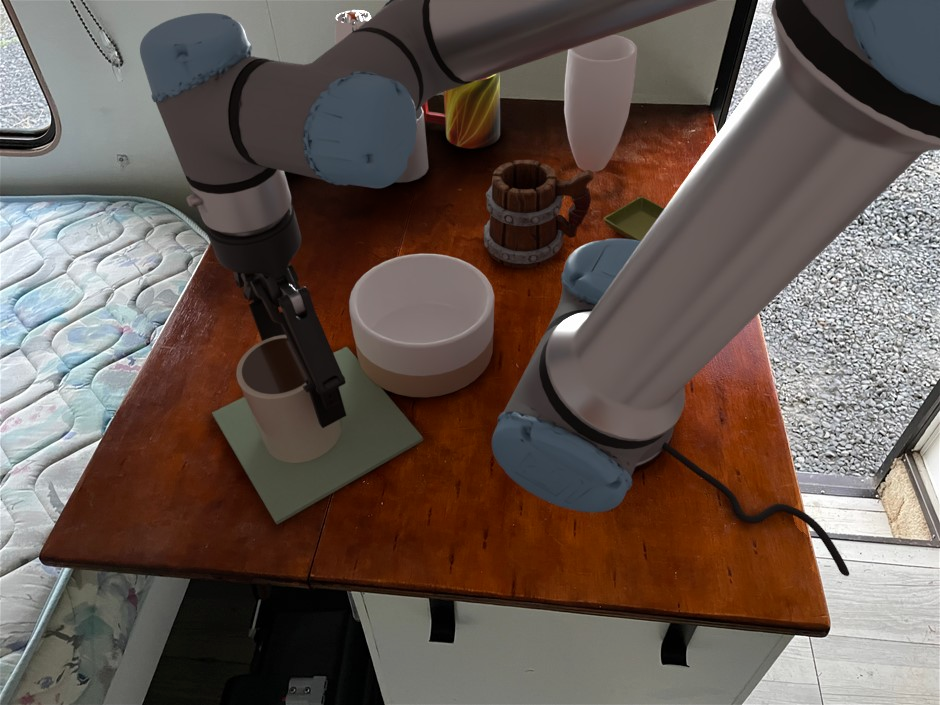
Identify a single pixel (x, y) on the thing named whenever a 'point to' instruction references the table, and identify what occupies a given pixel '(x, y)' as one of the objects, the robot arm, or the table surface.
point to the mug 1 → (470, 113)
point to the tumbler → (283, 403)
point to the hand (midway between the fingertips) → (303, 380)
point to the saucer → (634, 218)
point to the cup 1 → (417, 153)
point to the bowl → (423, 324)
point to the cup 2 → (598, 98)
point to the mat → (355, 453)
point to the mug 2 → (532, 212)
